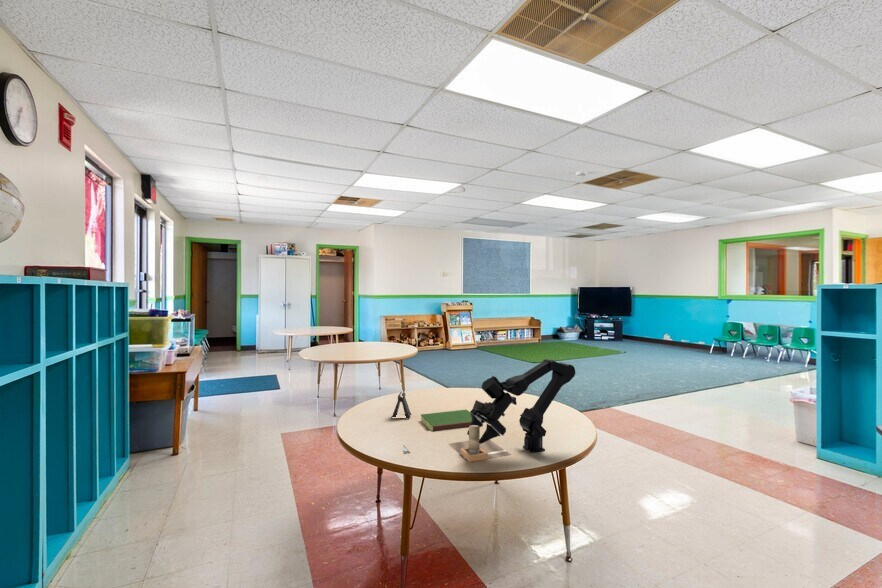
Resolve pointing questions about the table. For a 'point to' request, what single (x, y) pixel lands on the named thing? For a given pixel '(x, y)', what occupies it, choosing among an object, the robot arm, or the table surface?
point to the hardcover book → (447, 420)
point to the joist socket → (475, 457)
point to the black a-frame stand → (405, 406)
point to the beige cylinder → (474, 439)
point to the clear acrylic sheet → (487, 446)
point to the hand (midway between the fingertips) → (473, 438)
